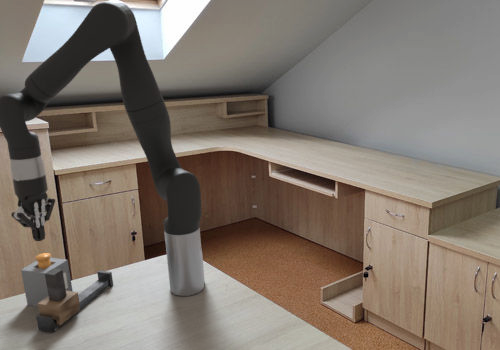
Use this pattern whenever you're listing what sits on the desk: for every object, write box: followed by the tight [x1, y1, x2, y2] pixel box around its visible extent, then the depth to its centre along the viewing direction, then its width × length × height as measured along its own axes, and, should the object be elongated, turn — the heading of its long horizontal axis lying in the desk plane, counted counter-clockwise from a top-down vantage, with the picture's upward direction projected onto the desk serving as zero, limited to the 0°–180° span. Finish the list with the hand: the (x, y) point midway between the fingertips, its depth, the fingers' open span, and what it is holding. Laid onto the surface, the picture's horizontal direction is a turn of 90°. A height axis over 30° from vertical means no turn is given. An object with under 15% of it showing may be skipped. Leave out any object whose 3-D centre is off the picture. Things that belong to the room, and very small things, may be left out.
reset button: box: [35, 252, 52, 269], centre depth 124 cm, size 4×4×6 cm
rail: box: [35, 270, 114, 334], centre depth 122 cm, size 24×4×4 cm, turn 160°
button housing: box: [20, 257, 74, 307], centre depth 125 cm, size 8×9×10 cm
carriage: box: [37, 268, 81, 326], centre depth 115 cm, size 7×6×12 cm
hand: (39, 239), depth 122 cm, fingers closed
